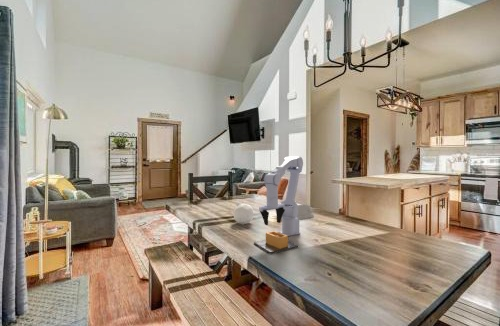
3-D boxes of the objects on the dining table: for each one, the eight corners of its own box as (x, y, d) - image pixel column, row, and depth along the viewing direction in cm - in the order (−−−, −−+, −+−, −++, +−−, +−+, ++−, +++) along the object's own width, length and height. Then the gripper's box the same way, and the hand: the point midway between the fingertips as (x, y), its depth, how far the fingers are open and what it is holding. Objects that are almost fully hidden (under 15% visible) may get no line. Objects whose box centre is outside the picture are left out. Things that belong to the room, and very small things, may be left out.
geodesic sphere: (229, 218, 155) (242, 200, 156) (226, 213, 168) (238, 196, 170) (247, 231, 158) (260, 212, 159) (243, 225, 171) (254, 208, 173)
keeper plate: (280, 238, 134) (280, 228, 134) (298, 247, 121) (298, 236, 121) (253, 243, 127) (253, 233, 126) (269, 254, 113) (269, 242, 113)
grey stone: (295, 220, 171) (292, 205, 174) (291, 220, 175) (288, 206, 178) (314, 216, 179) (311, 203, 182) (310, 217, 183) (306, 204, 186)
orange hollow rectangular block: (273, 240, 128) (273, 230, 128) (287, 246, 120) (287, 235, 120) (265, 242, 125) (265, 232, 125) (279, 248, 117) (279, 238, 117)
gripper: (279, 194, 135) (279, 219, 135) (255, 197, 128) (256, 223, 128) (287, 196, 129) (287, 222, 129) (263, 199, 122) (263, 227, 122)
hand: (272, 223), depth 128 cm, fingers open, 7 cm apart
